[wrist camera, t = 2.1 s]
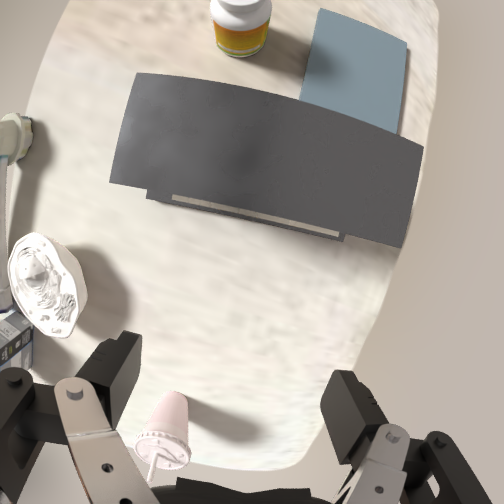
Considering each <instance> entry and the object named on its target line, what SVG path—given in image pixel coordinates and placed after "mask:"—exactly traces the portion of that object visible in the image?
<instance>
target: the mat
mask: <svg viewBox="0 0 504 504" xmlns="http://www.w3.org/2000/svg"><path fill="white" fill-rule="evenodd" d="M406 51H407V43H406V42H404V41H402V40H400V39H398V38H396V37H394V36H392V35H390V34H388V33H386V32H383V31H381V30H379V29H376V28H374V27H372V26H369V25H367V24H365V23H362V22H359V21H357V20H354V19H352V18H349V17H346V16H343V15H341V14H338V13H335V12H332V11H329V10H326V9H323V8H320V10H319V12H318V16H317V21H316V25H315V30H314V35H313V39H312V44H311V48H310V53H309V57H308V62H307V66H306V71H305V75H304V79H303V84H302V88H301V93H300V97H299V100H300V101H303V102H307V103H310V104H314V105H317V106H320V107H323V108H327V109H330V110H333V111H336V112H339V113H342V114H345V115H348V116H350V117H353V118H356V119H359V120H362V121H364V122H367V123H370V124H372V125H375V126H377V127H380V128H382V129H385V130H387V131H390V132H392V133H394V134H396V133H397V127H398V121H399V114H400V107H401V100H402V92H403V83H404V74H405V63H406Z"/></svg>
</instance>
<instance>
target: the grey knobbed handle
mask: <svg viewBox="0 0 504 504" xmlns="http://www.w3.org/2000/svg"><path fill="white" fill-rule="evenodd" d="M31 123H32V122H31V121H30V119H29V118H28V117H26V116H20V114H19V113H8V114H7V115H6V116H5V117H4V118H2V120H1V121H0V314H1V313H8V312H9V311H10V310H11V309H12V308H13V301H12V295H11V285H10V281H9V276H8V259H7V246H6V223H5V221H6V220H5V203H6V177H7V166H9V165H12V164H13V163H14V162H15V161H17V160H20V159H21V158H23V157H24V156H25V155H26V153H27V151H28V148H29V146H30V145H32V139H33V133H32V131H31Z"/></svg>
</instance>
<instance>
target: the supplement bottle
mask: <svg viewBox="0 0 504 504" xmlns="http://www.w3.org/2000/svg"><path fill="white" fill-rule="evenodd" d="M271 11H272V3H271V0H212V1H211V4H210V14H211V20H212V27H213V33H214V38H215V43H216V45H217V47H218V48H219V49H220V50H221V51H222V52H224V53H225V54H227V55H230V56H233V57H247V56H250V55H253V54H255V53H256V52H258V51H259V50H260V49H261V48H262V47H263V45H264V43H265V40H266V36H267V31H268V26H269V21H270V16H271Z"/></svg>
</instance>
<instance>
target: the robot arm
mask: <svg viewBox="0 0 504 504" xmlns="http://www.w3.org/2000/svg"><path fill="white" fill-rule="evenodd" d="M141 350H142V335H140V334H136V333H133V332H129V331H125V330H124V331H123V332H122V333H121V335H120V336H119V338H118V339H117V340H114V339H110V338H109V339H107V340H105V341H103V342H101V343H100V344H99V345H98V347H97V348H96V349H95V352H93V353H92V354H91V356H90V357H89V358H88V360H87V361H86V362H85V364H84V365H83V366H82V368H81V369H80V370H79V372H78V373H77V374H76V376H75V377H68V378H64V379H62V380H60V381H59V382H57V384H56V385H55V386H50V385H44V384H38V383H33V378H32V376H31V374H30V373H29V372H28V371H27V370H25V369H23V368H19V367H9V368H6V369H3V370H2V371H1V372H0V504H17V501H18V499H19V496H20V494H21V492H22V489H23V487H24V485H25V483H26V481H27V478H28V476H29V474H30V472H31V470H32V468H33V466H34V464H35V462H36V459H37V457H38V455H39V453H40V451H41V449H42V447H43V445H44V443H45V442H50V443H56V444H63V445H68V448H69V451H70V454H71V457H72V460H73V462H74V465H75V467H76V470H77V473H78V476H79V478H80V481H81V483H82V485H83V488H84V490H85V493H86V495H87V497H88V500H89V502H90V504H398V502H399V501H400V503H401V504H492V502H491V501H490V499H489V497H488V496H487V494H486V492H485V491H484V489H483V487H482V486H481V484H480V482H479V481H478V479H477V477H476V476H475V474H474V472H473V471H472V470H471V468H470V466H469V465H468V463H467V461H466V460H465V458H464V457H463V455H462V454H461V452H460V451H459V449H458V447H457V446H456V444H455V443H454V441H453V440H452V439H451V437H449V436H448V435H447V434H445V433H443V432H440V431H433V432H430V433H429V434H428V435H427V437H426V438H425V439H424V440H419V439H412V438H410V436H409V434H408V433H407V432H406V430H404V429H403V428H402V427H400V426H398V425H394V424H389V422H388V420H387V419H386V417H385V415H384V414H383V412H382V410H381V409H380V407H379V405H377V401H376V400H375V399H374V396H373V395H372V393H371V391H370V390H369V389H368V388H367V387H366V386H365V385H364V384H362V383H361V382H359V381H358V380H357V377H356V376H355V374H354V372H353V371H347V370H335V371H334V372H333V373H332V375H331V378H330V380H329V382H328V384H327V387H326V389H325V391H324V393H323V396H322V398H321V403H320V408H321V412H322V415H323V418H324V421H325V424H326V426H327V429H328V432H329V435H330V438H331V441H332V444H333V446H334V449H335V452H336V455H337V458H338V461H339V464H340V465H344V464H351V466H352V468H351V469H350V471H349V472H348V474H347V475H346V477H345V479H344V481H343V482H342V484H341V486H340V488H339V489H338V491H337V493H336V494H335V496H334V498H333V499H332V501H331V502H328V501H325V500H322V499H319V498H315V497H311V492H310V489H309V488H305V489H304V488H303V489H283V488H282V489H281V488H279V489H273V490H267V491H261V492H254V493H242V492H239V491H235V490H231V489H229V488H225V487H222V486H219V485H216V484H213V483H209V482H202V481H196V480H190V479H185V478H180V477H177V481H176V485H167V486H158V487H152V488H149V486H148V484H147V483H146V481H145V480H144V478H143V476H142V475H141V473H140V471H139V470H138V468H137V466H136V465H135V463H134V461H133V459H132V457H131V456H130V454H129V452H128V450H127V448H126V446H125V444H124V443H123V441H122V439H121V437H120V435H119V433H118V432H117V430H115V429H116V427H117V424H118V422H119V420H120V417H121V415H122V413H123V411H124V408H125V406H126V404H127V402H128V399H129V397H130V395H131V393H132V391H133V388H134V386H135V384H136V382H137V379H138V377H139V373H140V366H141ZM432 475H434V477H435V479H436V481H437V483H438V484H439V488H440V491H439V494H438V496H437V497H436V498H435V496H434V494H433V492H432V490H431V488H430V486H429V484H428V482H427V480H428V479H429V478H430V477H431V476H432Z"/></svg>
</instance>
